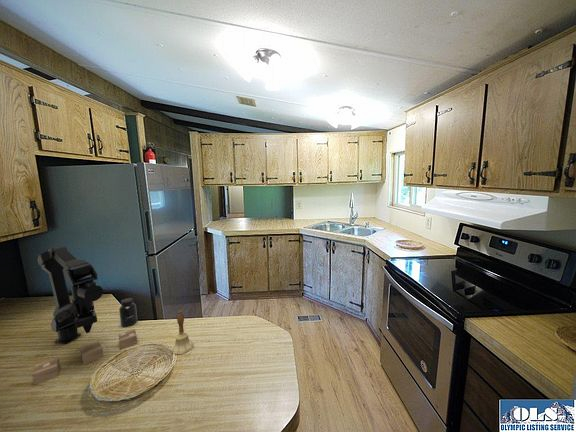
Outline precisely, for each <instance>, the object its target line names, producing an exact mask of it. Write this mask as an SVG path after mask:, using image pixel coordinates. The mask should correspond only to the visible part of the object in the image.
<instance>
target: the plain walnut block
mask: <svg viewBox="0 0 576 432" xmlns="http://www.w3.org/2000/svg"><path fill="white" fill-rule="evenodd" d="M79 354H80V359H81V361H82V363H83V366H85V365H87V364H89V363H92V362H94V361H96V360H98V359H100V358H103V357H104V349H103V346H102V344H101V342H100V341H96V342H93V343H90V344H89V345H86V346H84V347H81V348H79Z"/></svg>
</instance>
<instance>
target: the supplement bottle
mask: <svg viewBox="0 0 576 432" xmlns="http://www.w3.org/2000/svg"><path fill="white" fill-rule="evenodd" d="M118 310H119V320H120V322H119V323H120V326H121V327H123V328H127V327H131V326H133V325H135V324H137V322H138V314H137V313H138V311H137V305H136V303H134V299H133V298H132V297H127V298H124V299H122V300H121V301H120V307H119V308H118Z"/></svg>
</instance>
